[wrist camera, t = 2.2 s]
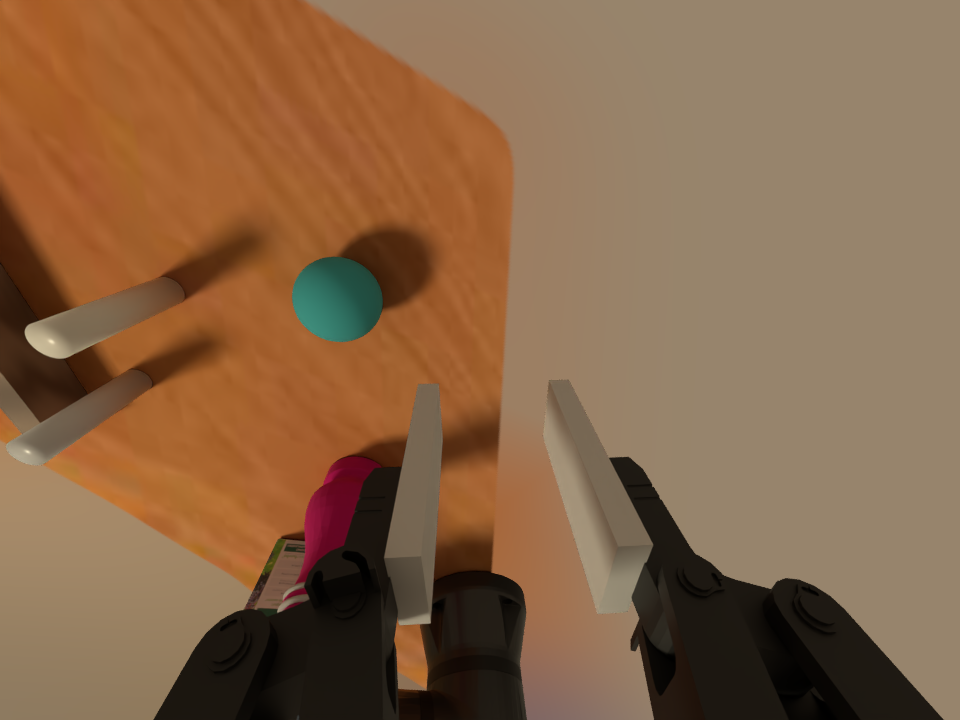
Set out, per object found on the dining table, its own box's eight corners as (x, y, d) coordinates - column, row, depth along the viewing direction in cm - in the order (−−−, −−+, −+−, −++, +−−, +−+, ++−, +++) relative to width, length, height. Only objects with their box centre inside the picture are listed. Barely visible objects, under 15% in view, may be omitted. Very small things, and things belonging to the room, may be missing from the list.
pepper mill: (343, 441, 35) (227, 711, 18) (405, 470, 38) (356, 734, 20) (312, 482, 38) (184, 754, 20) (371, 507, 40) (302, 769, 23)
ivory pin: (189, 304, 28) (81, 358, 20) (160, 304, 28) (40, 359, 20) (177, 276, 27) (58, 322, 19) (147, 277, 26) (15, 323, 19)
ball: (393, 321, 29) (379, 355, 24) (321, 323, 29) (290, 357, 24) (383, 248, 26) (364, 268, 21) (303, 249, 26) (263, 269, 21)
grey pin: (156, 390, 31) (54, 464, 23) (131, 390, 31) (20, 466, 23) (145, 369, 30) (33, 439, 22) (119, 369, 30) (-2, 441, 22)
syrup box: (327, 540, 43) (271, 698, 30) (327, 568, 45) (275, 724, 33) (278, 536, 42) (199, 697, 29) (280, 565, 45) (209, 723, 32)
